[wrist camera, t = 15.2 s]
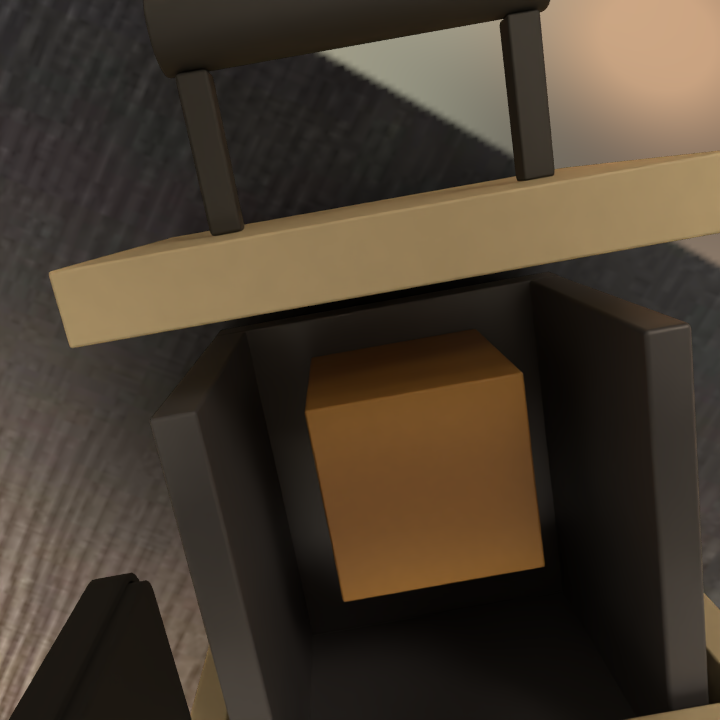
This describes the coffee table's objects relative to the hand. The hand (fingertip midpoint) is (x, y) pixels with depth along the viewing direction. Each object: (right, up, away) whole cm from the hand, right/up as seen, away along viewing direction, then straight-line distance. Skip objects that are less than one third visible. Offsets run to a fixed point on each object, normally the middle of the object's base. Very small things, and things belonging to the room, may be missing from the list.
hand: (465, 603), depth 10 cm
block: (0, +2, +8) cm, 8 cm away
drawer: (-1, +4, +9) cm, 10 cm away
